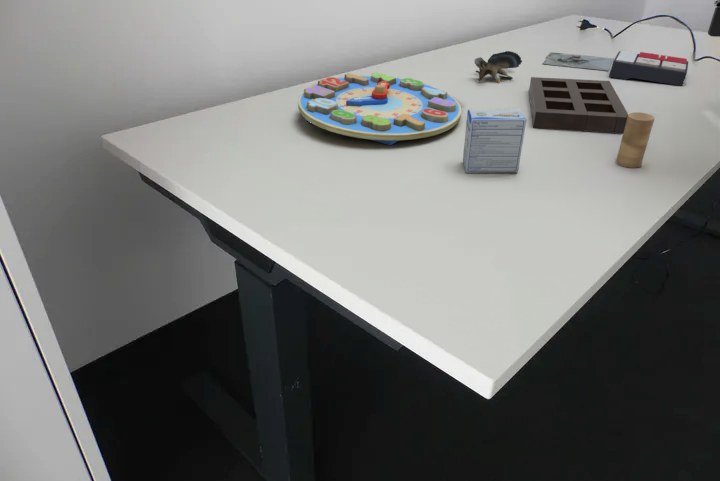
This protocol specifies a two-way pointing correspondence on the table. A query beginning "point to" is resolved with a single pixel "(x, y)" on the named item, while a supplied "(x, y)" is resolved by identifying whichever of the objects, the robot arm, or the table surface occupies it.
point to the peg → (635, 139)
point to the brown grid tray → (576, 105)
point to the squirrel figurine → (497, 64)
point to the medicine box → (493, 140)
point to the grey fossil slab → (579, 61)
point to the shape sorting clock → (379, 107)
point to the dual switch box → (649, 67)
